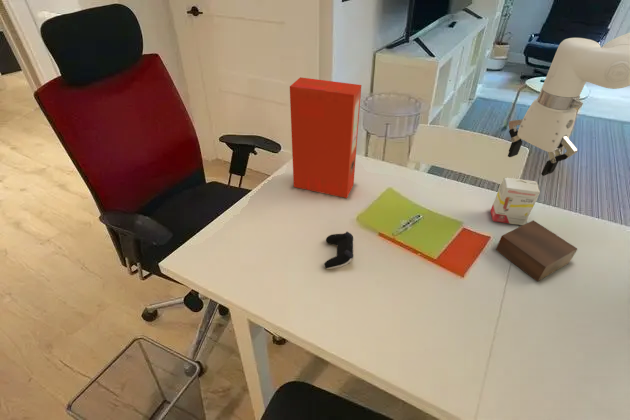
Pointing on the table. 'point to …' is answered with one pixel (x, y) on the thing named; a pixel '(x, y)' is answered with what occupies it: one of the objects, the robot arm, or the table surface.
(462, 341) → the table surface
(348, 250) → the gaming controller
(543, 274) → the walnut block
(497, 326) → the table surface
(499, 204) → the ink box
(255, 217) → the table surface
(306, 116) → the file binder
